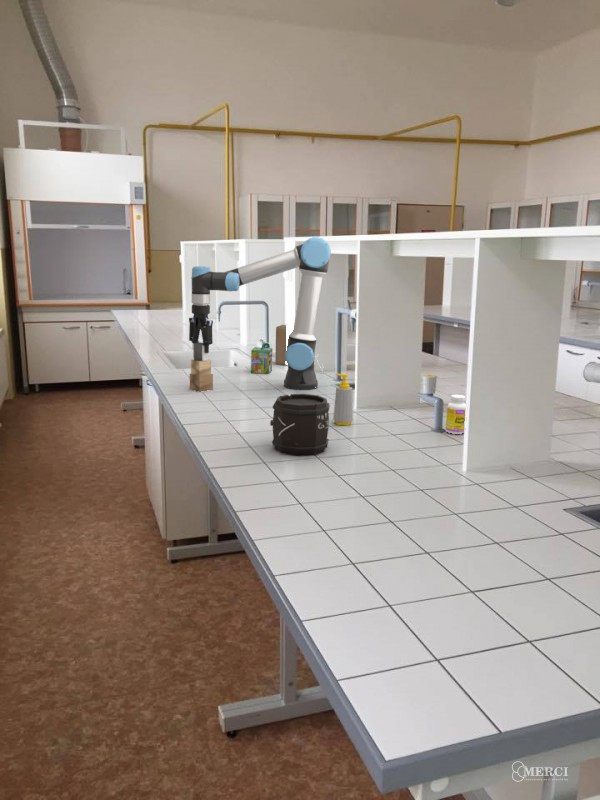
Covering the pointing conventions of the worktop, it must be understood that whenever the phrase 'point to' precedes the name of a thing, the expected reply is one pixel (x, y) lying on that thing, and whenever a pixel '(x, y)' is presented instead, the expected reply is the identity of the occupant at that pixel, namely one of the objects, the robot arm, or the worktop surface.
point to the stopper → (198, 351)
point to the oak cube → (200, 367)
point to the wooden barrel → (300, 424)
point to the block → (280, 344)
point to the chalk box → (261, 360)
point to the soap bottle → (343, 403)
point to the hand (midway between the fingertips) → (200, 359)
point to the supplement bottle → (456, 415)
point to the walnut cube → (201, 382)
